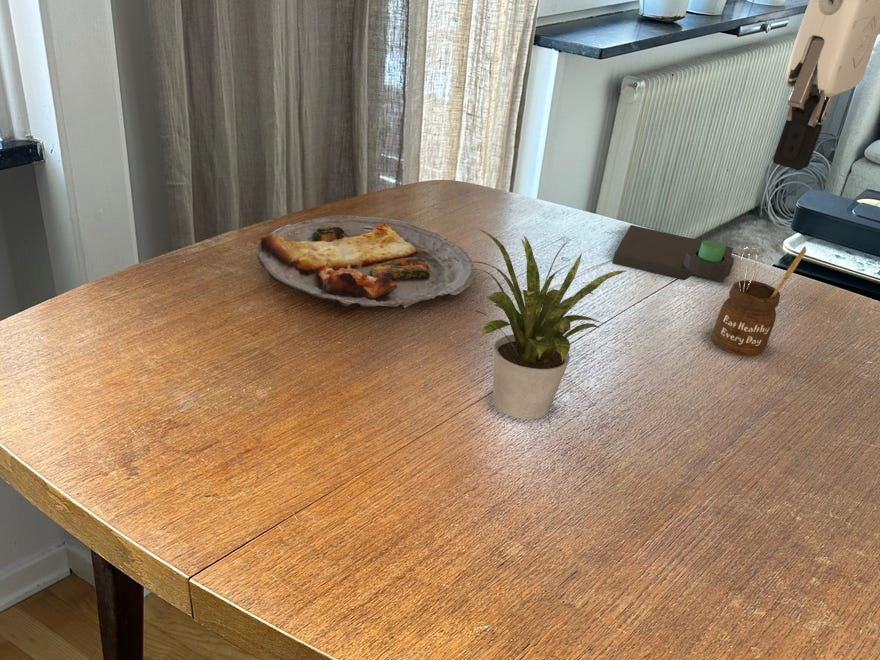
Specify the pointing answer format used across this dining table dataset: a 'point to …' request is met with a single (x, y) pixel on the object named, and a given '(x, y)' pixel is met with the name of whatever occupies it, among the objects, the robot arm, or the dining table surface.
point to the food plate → (365, 261)
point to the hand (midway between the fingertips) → (789, 165)
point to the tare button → (712, 251)
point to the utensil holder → (749, 314)
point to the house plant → (533, 337)
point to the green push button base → (669, 255)
